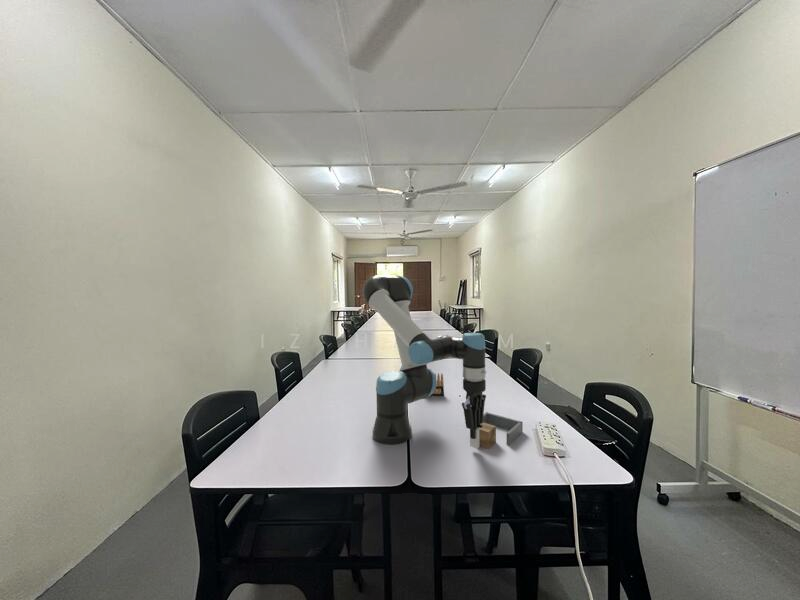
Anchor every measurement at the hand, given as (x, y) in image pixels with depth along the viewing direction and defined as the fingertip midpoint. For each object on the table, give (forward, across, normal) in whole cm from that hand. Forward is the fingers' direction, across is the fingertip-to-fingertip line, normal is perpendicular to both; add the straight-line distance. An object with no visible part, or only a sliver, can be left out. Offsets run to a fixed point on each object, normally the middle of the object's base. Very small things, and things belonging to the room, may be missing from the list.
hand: (474, 446), depth 105 cm
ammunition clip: (+2, +36, +43) cm, 56 cm away
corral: (+2, +18, 0) cm, 18 cm away
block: (+2, +8, 0) cm, 8 cm away
